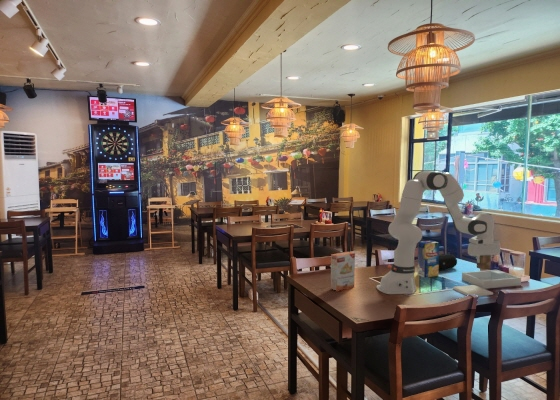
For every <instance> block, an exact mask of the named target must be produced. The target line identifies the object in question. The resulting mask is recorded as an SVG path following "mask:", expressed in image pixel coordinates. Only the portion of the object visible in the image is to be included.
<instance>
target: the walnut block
mask: <svg viewBox="0 0 560 400" xmlns="http://www.w3.org/2000/svg"><path fill="white" fill-rule="evenodd" d="M479 258H480V260H481V263H477V262H476V269H480V270H481V271H488V270H491V262H492V261H491V260H492V258H491V256H489V255H484V256H480V257H479Z"/></svg>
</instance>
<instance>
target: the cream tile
mask: <svg viewBox="0 0 560 400" xmlns="http://www.w3.org/2000/svg"><path fill="white" fill-rule="evenodd" d="M453 291H456V292H458V293H460V294H463V295H465V296H467V295H468V294H475V295H478V297H481V296H482V297H483V296H491V295H494V292H493V291H490V290H488V289H483V288H481V287H478V286H476V285H473V284H468V285H459V286H458V285H456V286H453Z"/></svg>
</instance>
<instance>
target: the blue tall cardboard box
mask: <svg viewBox="0 0 560 400" xmlns="http://www.w3.org/2000/svg"><path fill="white" fill-rule="evenodd" d="M439 255H440V242H439V241H435V240H423V241H421V240H420V241H419V242H418V243H417V276H420V277H422V278H432V277H438V276H439V271H440V270H439Z"/></svg>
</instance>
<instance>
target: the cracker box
mask: <svg viewBox="0 0 560 400" xmlns="http://www.w3.org/2000/svg"><path fill="white" fill-rule="evenodd" d="M355 264H356V253H355V252H352V251H344V252H337V253H334V254H333V253H331V254H330V290H332V289H333V291H334V290H336V291H335V292H339V291H338V290H341V291H344V290H343V289H345V290H348V289H347V288H350V289H353V288H352V287H354V288H355V275H356V274H355V270H356V265H355Z"/></svg>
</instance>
